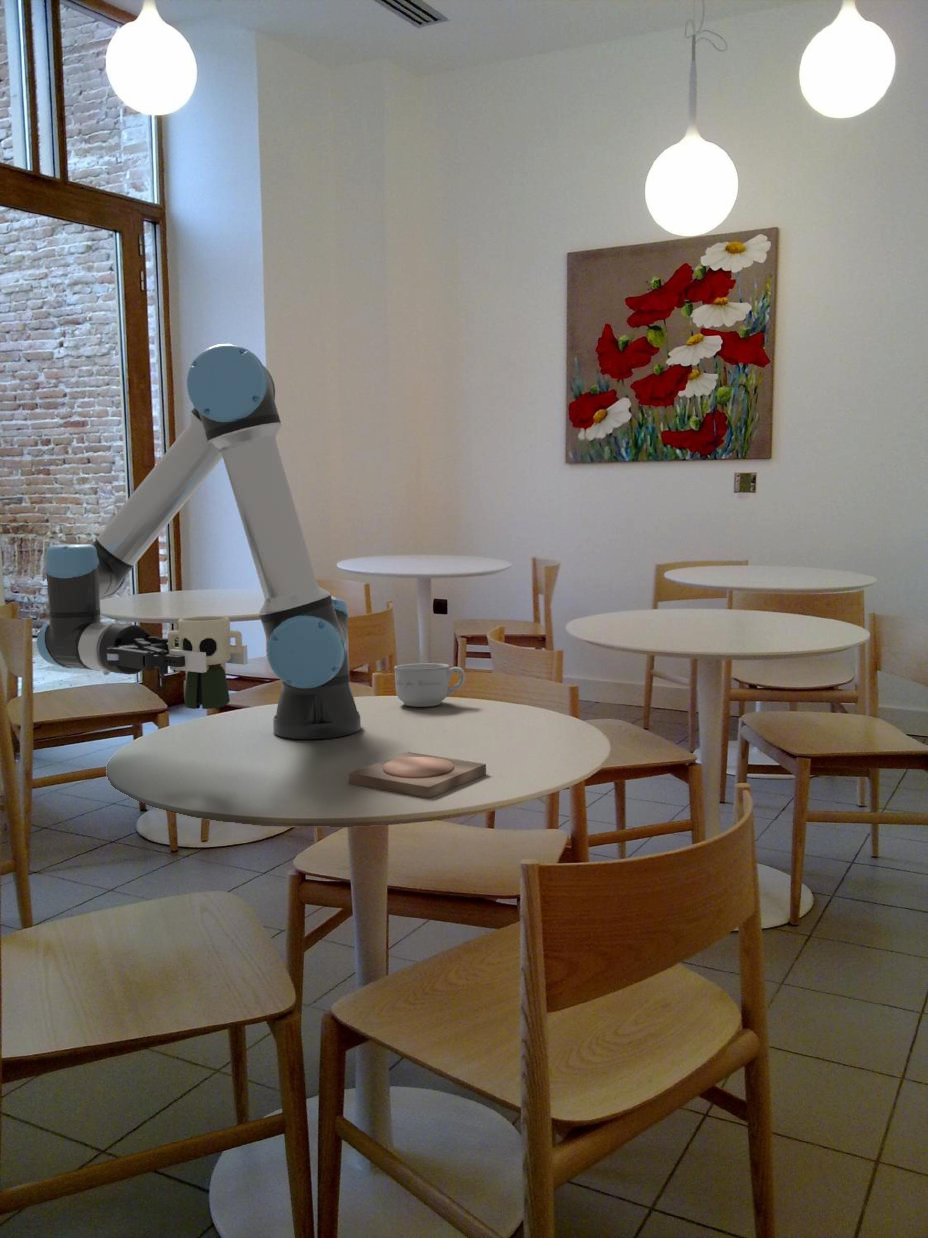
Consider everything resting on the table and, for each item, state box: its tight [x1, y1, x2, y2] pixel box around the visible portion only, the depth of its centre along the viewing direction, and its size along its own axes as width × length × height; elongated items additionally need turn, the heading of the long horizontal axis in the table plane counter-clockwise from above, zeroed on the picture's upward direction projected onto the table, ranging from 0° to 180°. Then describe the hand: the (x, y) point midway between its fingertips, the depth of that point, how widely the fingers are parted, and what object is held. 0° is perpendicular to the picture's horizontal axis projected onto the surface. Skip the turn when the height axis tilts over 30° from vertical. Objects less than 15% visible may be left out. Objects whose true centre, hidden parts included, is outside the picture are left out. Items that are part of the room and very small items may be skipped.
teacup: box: [394, 662, 467, 708], centre depth 196 cm, size 14×11×8 cm
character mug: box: [167, 615, 243, 710], centre depth 143 cm, size 11×7×13 cm, turn 83°
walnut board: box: [348, 751, 487, 799], centre depth 143 cm, size 14×14×2 cm
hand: (225, 658), depth 140 cm, fingers closed on character mug, 7 cm apart
